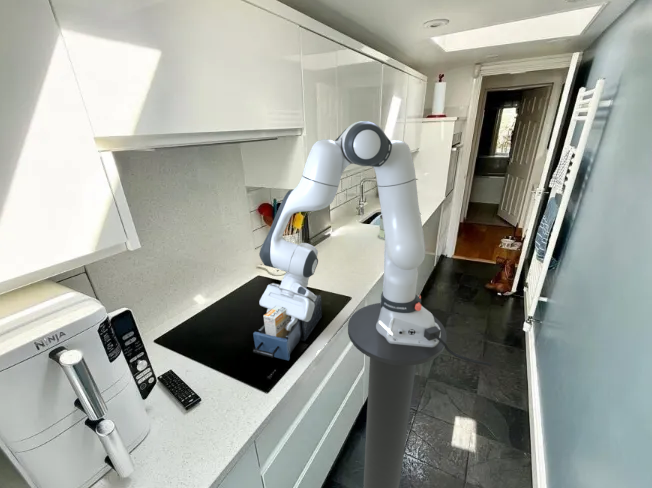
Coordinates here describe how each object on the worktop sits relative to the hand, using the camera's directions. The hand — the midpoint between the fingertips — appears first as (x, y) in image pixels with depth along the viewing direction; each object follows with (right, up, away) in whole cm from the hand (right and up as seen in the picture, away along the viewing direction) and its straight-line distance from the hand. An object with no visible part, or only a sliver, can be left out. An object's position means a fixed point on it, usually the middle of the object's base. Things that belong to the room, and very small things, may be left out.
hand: (277, 326), depth 103 cm
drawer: (0, -8, +3) cm, 8 cm away
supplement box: (0, -6, +4) cm, 7 cm away
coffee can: (+59, +41, +100) cm, 124 cm away
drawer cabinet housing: (+6, -2, +16) cm, 17 cm away
